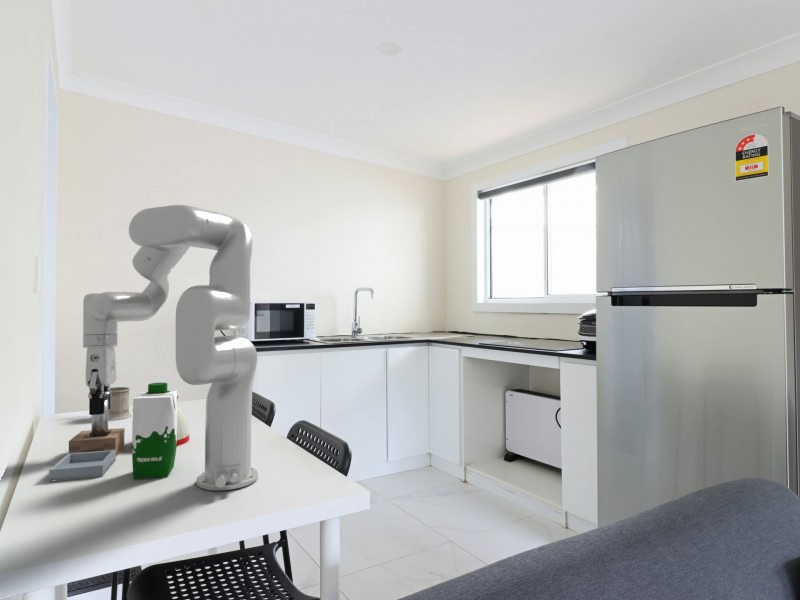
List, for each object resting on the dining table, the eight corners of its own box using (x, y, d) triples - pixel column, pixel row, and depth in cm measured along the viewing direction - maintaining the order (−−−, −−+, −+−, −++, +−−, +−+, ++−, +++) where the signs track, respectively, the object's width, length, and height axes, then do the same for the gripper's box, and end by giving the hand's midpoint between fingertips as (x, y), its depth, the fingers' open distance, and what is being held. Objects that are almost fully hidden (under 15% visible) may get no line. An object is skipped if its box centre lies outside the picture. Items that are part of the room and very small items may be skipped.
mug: (137, 416, 163) (138, 381, 163) (107, 422, 155) (108, 385, 155) (115, 411, 171) (116, 378, 171) (85, 416, 162) (86, 381, 163)
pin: (108, 437, 120) (108, 393, 120) (85, 439, 118) (85, 394, 118) (113, 432, 124) (113, 390, 125) (91, 434, 123) (91, 391, 123)
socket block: (115, 457, 118) (115, 437, 118) (68, 461, 115) (68, 441, 115) (124, 446, 128) (124, 428, 128) (81, 449, 125) (81, 430, 125)
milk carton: (178, 465, 113) (180, 381, 114) (171, 478, 105) (172, 387, 105) (138, 468, 111) (139, 382, 111) (126, 481, 102) (128, 389, 103)
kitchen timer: (135, 439, 136) (136, 386, 136) (187, 433, 142) (188, 383, 142) (132, 452, 123) (134, 394, 124) (190, 445, 130) (191, 390, 130)
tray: (102, 476, 105) (102, 465, 105) (49, 481, 102) (49, 469, 102) (115, 460, 117) (115, 449, 117) (68, 464, 113) (68, 453, 113)
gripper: (108, 342, 115) (108, 417, 115) (124, 339, 131) (124, 405, 131) (72, 343, 113) (72, 420, 112) (93, 340, 129) (92, 407, 128)
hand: (100, 411), depth 121 cm, fingers closed on pin, 4 cm apart
